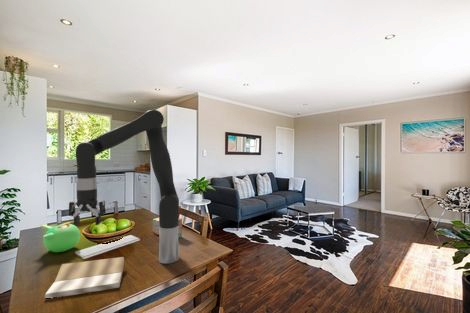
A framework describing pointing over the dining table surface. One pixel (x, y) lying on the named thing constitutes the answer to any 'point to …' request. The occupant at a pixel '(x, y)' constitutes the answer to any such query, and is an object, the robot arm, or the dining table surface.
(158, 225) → the stack of blocks
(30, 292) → the dining table surface
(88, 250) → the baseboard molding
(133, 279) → the dining table surface
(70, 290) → the whitewashed oak board
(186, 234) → the dining table surface
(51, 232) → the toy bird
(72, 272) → the honey oak plank
